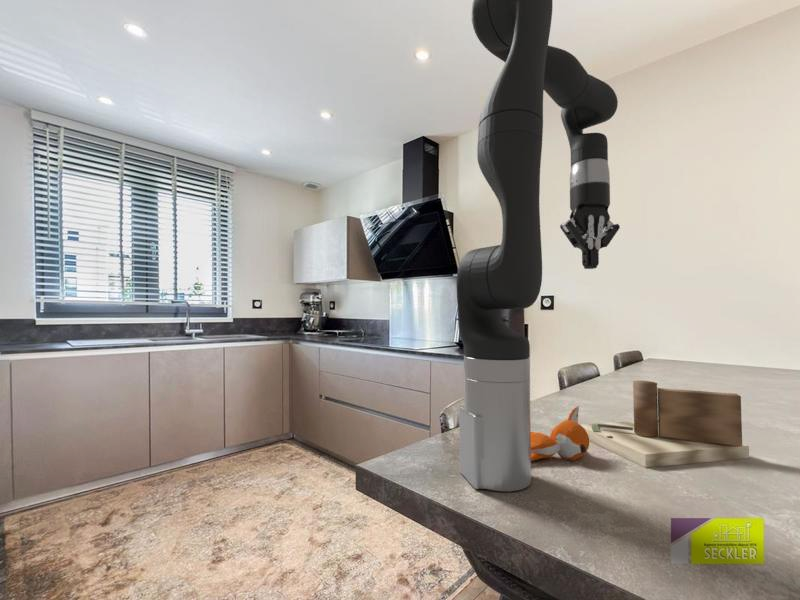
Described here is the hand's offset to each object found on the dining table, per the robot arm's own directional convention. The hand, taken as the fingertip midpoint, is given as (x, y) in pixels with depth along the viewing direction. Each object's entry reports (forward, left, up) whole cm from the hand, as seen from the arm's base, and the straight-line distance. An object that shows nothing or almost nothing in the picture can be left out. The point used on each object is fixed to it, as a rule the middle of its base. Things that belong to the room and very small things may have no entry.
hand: (590, 268), depth 80 cm
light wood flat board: (+4, -11, -33) cm, 35 cm away
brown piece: (+4, -13, -31) cm, 33 cm away
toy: (-19, -6, -34) cm, 39 cm away
